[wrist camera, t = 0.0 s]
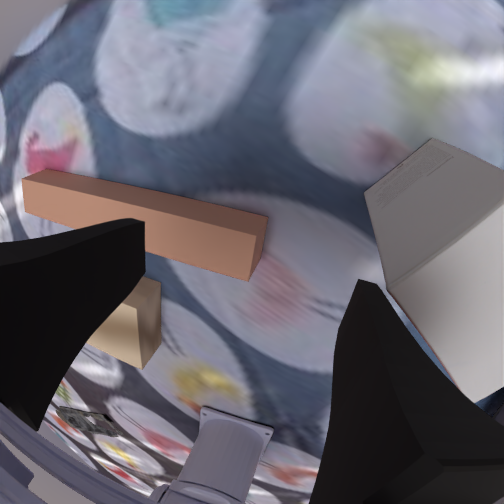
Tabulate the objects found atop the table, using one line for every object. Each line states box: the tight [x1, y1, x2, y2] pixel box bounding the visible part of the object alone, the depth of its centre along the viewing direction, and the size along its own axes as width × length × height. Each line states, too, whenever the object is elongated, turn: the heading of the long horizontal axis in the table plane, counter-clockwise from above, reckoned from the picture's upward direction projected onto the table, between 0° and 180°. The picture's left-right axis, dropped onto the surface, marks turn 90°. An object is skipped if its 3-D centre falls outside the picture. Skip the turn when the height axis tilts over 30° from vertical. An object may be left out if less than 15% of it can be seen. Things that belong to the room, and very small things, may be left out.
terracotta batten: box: [22, 169, 268, 281], centre depth 21 cm, size 3×20×3 cm, turn 81°
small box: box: [364, 138, 504, 403], centre depth 13 cm, size 8×6×10 cm
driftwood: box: [56, 406, 123, 437], centre depth 45 cm, size 21×7×2 cm, turn 113°
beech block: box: [86, 276, 161, 370], centre depth 26 cm, size 7×9×4 cm
